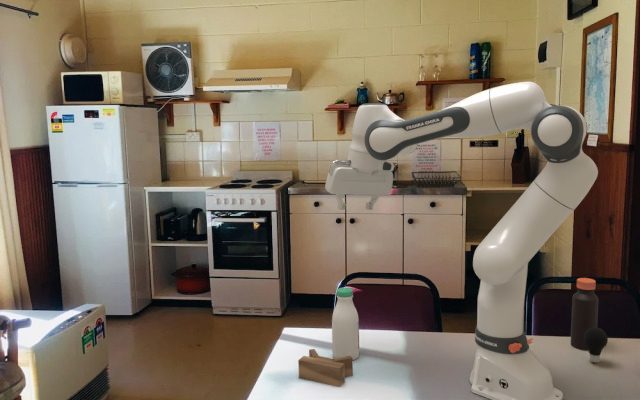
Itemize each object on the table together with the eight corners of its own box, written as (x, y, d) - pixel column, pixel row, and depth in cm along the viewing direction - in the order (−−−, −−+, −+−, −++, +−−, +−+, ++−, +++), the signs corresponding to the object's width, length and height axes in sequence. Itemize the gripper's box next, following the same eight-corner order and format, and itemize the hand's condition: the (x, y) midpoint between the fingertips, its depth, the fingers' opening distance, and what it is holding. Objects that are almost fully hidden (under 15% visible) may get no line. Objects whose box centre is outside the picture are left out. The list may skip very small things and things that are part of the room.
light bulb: (609, 362, 149) (611, 327, 147) (602, 369, 145) (604, 333, 143) (586, 356, 153) (588, 322, 151) (579, 363, 149) (581, 328, 147)
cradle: (311, 365, 151) (310, 348, 151) (354, 373, 146) (353, 356, 145) (297, 377, 144) (296, 359, 144) (341, 387, 139) (341, 368, 138)
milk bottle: (357, 362, 152) (356, 294, 149) (330, 361, 154) (328, 293, 151) (360, 351, 160) (360, 285, 157) (335, 349, 161) (333, 284, 158)
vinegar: (568, 347, 159) (571, 281, 156) (572, 339, 164) (574, 275, 161) (594, 352, 155) (598, 285, 152) (597, 344, 161) (600, 278, 158)
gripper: (336, 161, 142) (328, 212, 145) (399, 165, 152) (390, 212, 155) (325, 156, 147) (317, 205, 150) (386, 160, 157) (378, 206, 161)
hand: (355, 209), depth 153 cm, fingers open, 8 cm apart
